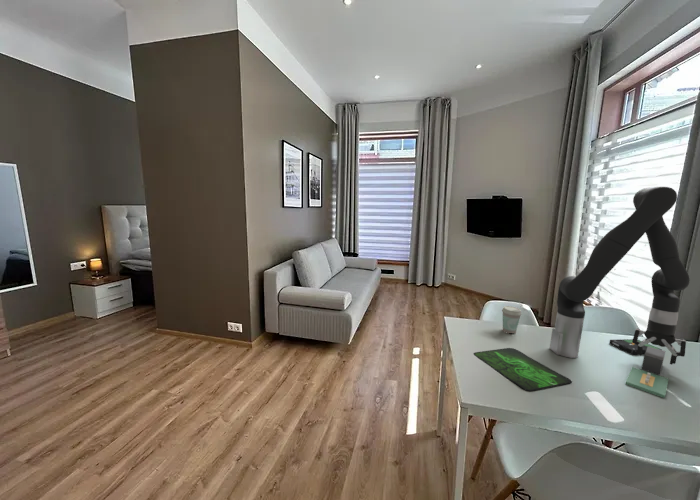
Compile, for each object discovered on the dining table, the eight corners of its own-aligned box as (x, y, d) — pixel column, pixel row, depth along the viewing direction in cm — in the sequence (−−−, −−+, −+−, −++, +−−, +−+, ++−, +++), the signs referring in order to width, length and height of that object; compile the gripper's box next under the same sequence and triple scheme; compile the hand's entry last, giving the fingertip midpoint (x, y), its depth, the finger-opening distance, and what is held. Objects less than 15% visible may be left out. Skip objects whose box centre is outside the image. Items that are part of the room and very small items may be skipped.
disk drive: (631, 356, 126) (661, 355, 128) (633, 350, 125) (662, 349, 127) (608, 345, 136) (636, 344, 138) (609, 339, 136) (637, 338, 137)
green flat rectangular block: (625, 384, 104) (626, 377, 103) (632, 369, 114) (633, 363, 113) (664, 398, 96) (666, 391, 96) (668, 381, 107) (669, 374, 106)
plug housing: (641, 369, 114) (644, 354, 113) (645, 359, 122) (647, 346, 121) (659, 375, 111) (662, 360, 110) (662, 364, 118) (665, 351, 117)
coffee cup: (503, 334, 142) (506, 310, 140) (497, 327, 150) (500, 305, 149) (521, 336, 141) (525, 312, 139) (515, 328, 149) (517, 306, 147)
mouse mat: (470, 353, 122) (470, 351, 122) (511, 347, 129) (511, 345, 129) (527, 393, 97) (527, 391, 96) (574, 384, 103) (575, 381, 103)
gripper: (635, 317, 116) (629, 355, 119) (690, 328, 105) (681, 370, 108) (638, 313, 121) (632, 349, 123) (690, 324, 110) (682, 363, 112)
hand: (655, 359), depth 116 cm, fingers open, 8 cm apart
